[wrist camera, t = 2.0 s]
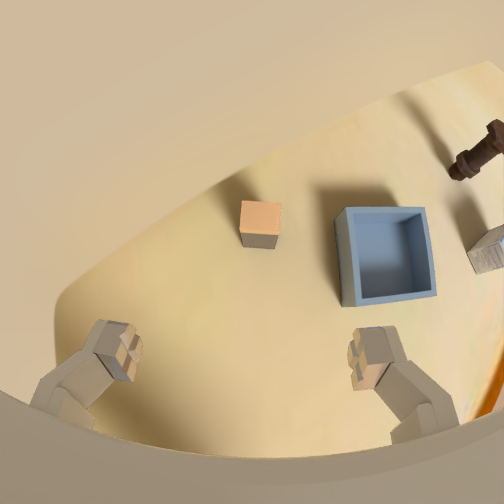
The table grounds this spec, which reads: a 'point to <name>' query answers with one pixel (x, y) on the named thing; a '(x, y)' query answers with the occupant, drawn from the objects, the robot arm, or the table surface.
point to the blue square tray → (384, 255)
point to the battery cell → (260, 224)
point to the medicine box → (488, 251)
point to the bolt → (479, 153)
